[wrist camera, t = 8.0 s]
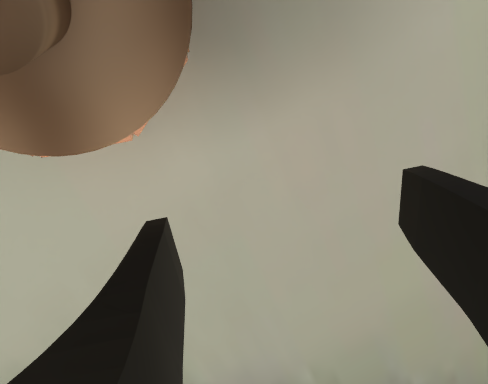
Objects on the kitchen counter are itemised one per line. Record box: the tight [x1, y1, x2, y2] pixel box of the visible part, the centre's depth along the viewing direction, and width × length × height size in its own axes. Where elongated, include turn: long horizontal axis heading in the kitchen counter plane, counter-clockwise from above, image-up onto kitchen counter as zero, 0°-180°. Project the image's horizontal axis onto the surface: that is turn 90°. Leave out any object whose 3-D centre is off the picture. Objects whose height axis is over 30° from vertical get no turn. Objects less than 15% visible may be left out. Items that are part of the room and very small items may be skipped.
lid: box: [0, 0, 192, 156], centre depth 12 cm, size 11×11×4 cm
